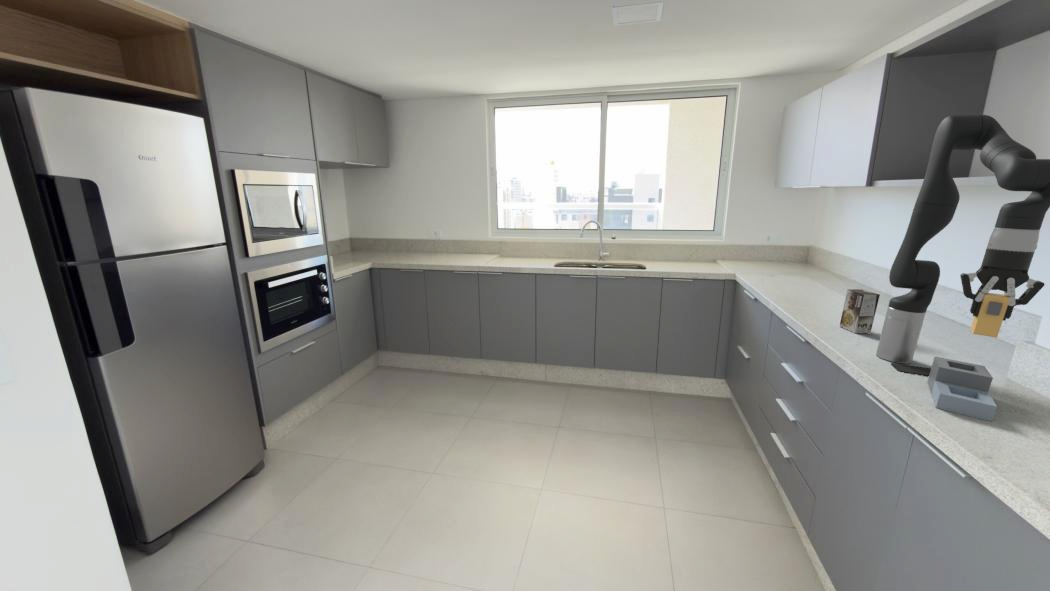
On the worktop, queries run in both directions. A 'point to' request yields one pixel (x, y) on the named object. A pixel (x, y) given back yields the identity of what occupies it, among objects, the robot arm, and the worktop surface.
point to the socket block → (961, 388)
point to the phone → (911, 369)
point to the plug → (990, 315)
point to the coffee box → (859, 310)
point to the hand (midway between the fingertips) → (988, 317)
